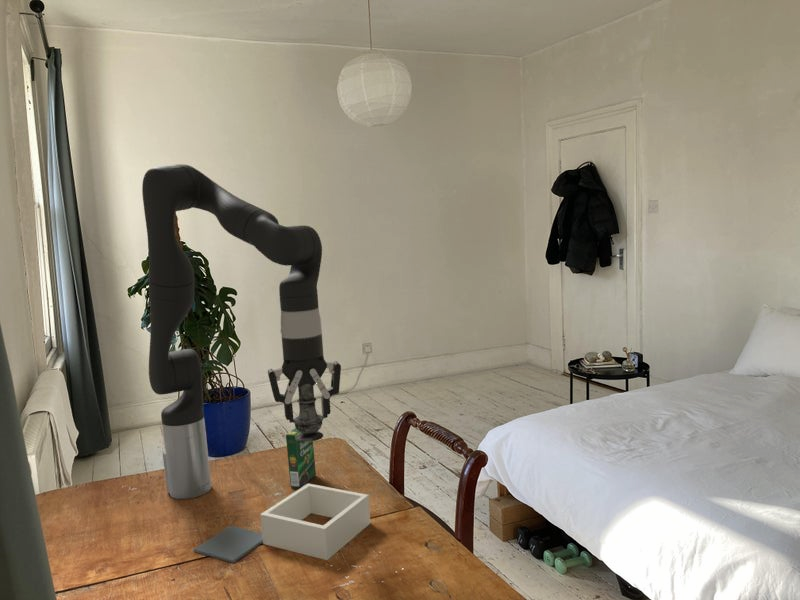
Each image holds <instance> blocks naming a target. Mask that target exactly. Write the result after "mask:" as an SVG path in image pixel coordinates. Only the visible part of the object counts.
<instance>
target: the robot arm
mask: <svg viewBox="0 0 800 600" xmlns="http://www.w3.org/2000/svg"><path fill="white" fill-rule="evenodd" d="M141 187H142V190H141V191H142V193H141V194H142V203H143V210H144V211H143V212H144V217H145V218H144V219H145V225H146V234H147V247H148V248H147V249H148V296H149V316H150V337H149V354H148V355H149V356H148V377H149V383H150V388H151V389H152V391H153V393H155V394H157V395H161V396H162V395H163V396H164V395H168V394H173V393H178V392H179V393H180V392H182V393H181V395H180V396H179V397H178V398H177V399H175V400H174V401H173V402H172V403H170V404H168V405H167V406H166V407H164V408H162V411H161V413H160V414H161V416H160V417H161V419H160V420H161V426H162V427H161V428H162V434H163V443H164V452H163V454H162V459H163V468H164V477H165V486H166V493H168V494H170V496H171V498H173V499H177V500H179V499H180V500H186V499H194V498H196V497H198V498H199V497H200V496H203V495H205V494H207V493H208V492H210V491H211V489H212V480H211V479H212V478H211V471H210V469H211V468H210V459H209V450H208V442H207V431H206V423H205V422H206V421H205V413H204V412H205V410H204V407H205V406H204V392H203V372H202V363H201V359H200V356H199V354H198V352H197V351H196V350H195V349H193V348H185V349H180V350H178V349H177V350H173V351H170V347H171V345H172V341H173V338H174V335H175V333H176V332H177V330H178V328H179V327H180V326H181V324H182V323H183V322H184V319H185V318H186V317H187V315H188V313H189V312H190V310H191V309H192V306H193V304H194V301H195V282H196V281H195V270H194V266H193V265H192V263H191V260H190V259H189V257H188V256H187V255H186V253H185V251H184V250H183V249H182V247H181V245H180V243H179V242H178V238H177V235H176V226H175V215H176V214H175V213H176V212H180V211H185V210H186V211H187V210H189V209H192V208H194V209H199V210H202V211H206V212H208V213H210V214H212V215H214V216H215V218H216V219H217V221H218V223H219V224H220V226H221V227H222V228H223V230H224V231H226V232H227V233H228V234H230V235H232V236H233V237H235V238H236V239H239V240H241V241H243V242H244V243H247V244H248V245H251V246H253V247H254V248H255V249H256V250H257V251H258V252H260V253H261V254H262V255H263V256H264V257H265V258H266V259H268V260H269V261H271V262H272V263H275V264H278V265H280V266H288V267H289V266H290V269H289V275H288V276H287V277H285V278H284V279H282V280H281V281H280V283H279V289H278V290H279V304H280V305H279V306H280V334H281V347H282V358H283V359H282V360H283V363H282V366H281V367H280V368H276V369H272V368H269V369H268V370H267V375H268V380H269V383H270V388H271V392H272V396H273V399H274V401H275V402H277V403H282V404H283V408H284V417H285V419H286V420H287V421H288V422H289V423H290V424H291V423H293V422H294V410H293V403H292V400H293V398H294V395H295V393H296V391H297V389H298V387H302V385H305V384H310V385H311V386H313V387H314V386H315V385H316V387H317V388H318V389H319V391H320V393H321V396H320V402H321V403H320V404H321V415H322V416H323V417H324V419H327V418H329V417H328V416H329V415H331V400H330V399H331V397H333V396H334V395H335V396H336V395H338V394H339V393H340V386H341V385H340V383H341V370H342V366H341V364H340V362H338V361H336V360H335V361H334V362H326V360H325V356H324V346H323V333H322V332H323V330H322V319H321V315H320V310H319V309H320V307H319V296H318V281H319V276H320V271H321V263H322V257H323V246H322V240H321V237H320V236H319V233H318V232H317V231H316V229H314V228H313V227H312V226H308V225H293V226H292V225H291V226H285V225H282V224H279V220H278V218H277V217H276V216H275V215H274V214H272V213H270V212H269V211H267V210H264V209H263V208H260V207H259V206H256V205H254V204H252V203H250V202H247V201H246V200H244V199H241V198H239V197H238V196H236V195H234V194H233V193H231V192H230V191H228V190H227V189H225V188H224V187H222V186H221V185H219V184H218V183H217V182H215V181H214V180H212V179H211V178H210V177H208V176H207V175H205V174H204V173H202V171H200V170H198V169H197V168H195V167H193V166H191V165H189V164H180V163H179V164H171V165H162V166H161V165H160V166H155V167H151V168H149V169H147V171H146V172H145V173H144V176H143V180H142V186H141ZM326 370H328V372H329V373H330V375H331V380H330V387H329V388H327V387H326V386H325V385H326V384H324V382H323V381H322V379H321V378H322V377H323V375H324V373H325V372H326ZM282 374H283V375H284V377H286V378H287V380H288V382H287V385H286V390H285V392H284V394H282V393H281V392H280V387H279V383H278V382H279V381H280V380H281V375H282Z"/></svg>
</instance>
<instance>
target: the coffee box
mask: <svg viewBox="0 0 800 600" xmlns="http://www.w3.org/2000/svg"><path fill="white" fill-rule="evenodd" d="M299 434H300V432H299V431H298V430H297V429H296V427H295V428H294V429H292V430H290V431H289V432H287V433H286V434H285V441H286V451H287V462H288V472H289V473H288V474H289V484H290V488H291V489H292V488H294V489H298V490H299V489H300V488H302V487H303V486H305V485H306V484H308V483H309V481H311V480H312V479H314V477H316V475H317V471H316V461H315V460H316V458H315V450H314V449H315V448H314V441H312V442H301V441H297V440H296V436H297V435H299Z"/></svg>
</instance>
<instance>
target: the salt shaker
mask: <svg viewBox="0 0 800 600" xmlns="http://www.w3.org/2000/svg"><path fill="white" fill-rule="evenodd" d="M297 389H298V399H297V401H296V402H298V405H299V406H298V407H299V412H298V415H297V416H296V417H293V419H294V422H292V423H293V424H294V427H295V428H296V429H297V430H298V431H299V432H300V434H299V435H297V436H296V440H297V441H301V442H312V441H313V442H316V441H320V440H321V439H322V438H324V433H322V432H321V431H320V429H321V428H322V425H323V420H324V419H325V418H324V417H323V415H322V414H318V413H317V411H316V401H317V398H316V397H315V391H314V385H313V386H311V385H310V384H305V385H302V387H297Z"/></svg>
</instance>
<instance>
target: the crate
mask: <svg viewBox="0 0 800 600" xmlns="http://www.w3.org/2000/svg"><path fill="white" fill-rule="evenodd" d="M369 497H370V495H369V494H366V493H360V492H355V491H351V490H350V491H349V490H345V489H340V488H333V487H329V486H323V485H318V484H313V483H306V484H305V485H304V486H302V487H301V488H300V489H299V488H298V489H297V490H295V491H293V492H292V493H291V494H289V495H287V497H285V498H284V499H282V500H281V501H279V502H277V503H275V504H274V505H273V506H271V507H269V508H268V509H267V510H265V511H263V512H261V513H260V526H261V533H262V537H263V542H262V544H263V545H267V546H271V547H274V548H277V549H282V550H285V551H289V552H294V553H296V554H297V553H298V554H302V555H306V556H309V557H313V558H317V559H321V560H324V561H328V560H329V559H331V558H332V557H333V556H334V555H335V554H336V553H337V552H339V551H340V550H341V549H342V548H343V547H344V546H346V545H347V544H348V543H350V541H352V540H353V539H354V538H356V536H358V534H359V533H361V532H362V531H363V530H365V528H366V527H368V526H369V525H371V512H370V499H369ZM311 514H313V515H318V516H323V517H326V518H331V519H330V520H328V521H327V522H326V523H325V524H323V525H322V524H319V523H314V522H309V521H306V520H304V519H305V518H307V517H308V516H310V515H311Z"/></svg>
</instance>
